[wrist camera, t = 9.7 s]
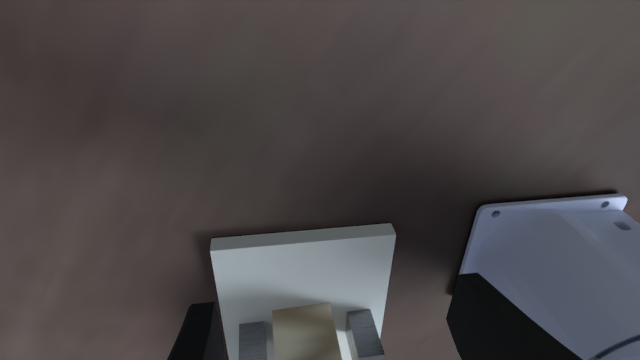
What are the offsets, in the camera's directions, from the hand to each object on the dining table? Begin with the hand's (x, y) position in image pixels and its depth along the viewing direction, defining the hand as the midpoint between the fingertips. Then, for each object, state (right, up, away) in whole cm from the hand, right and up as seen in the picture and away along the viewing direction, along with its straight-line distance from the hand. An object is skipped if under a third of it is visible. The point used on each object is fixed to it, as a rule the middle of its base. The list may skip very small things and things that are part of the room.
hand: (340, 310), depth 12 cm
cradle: (-2, -9, +17) cm, 19 cm away
